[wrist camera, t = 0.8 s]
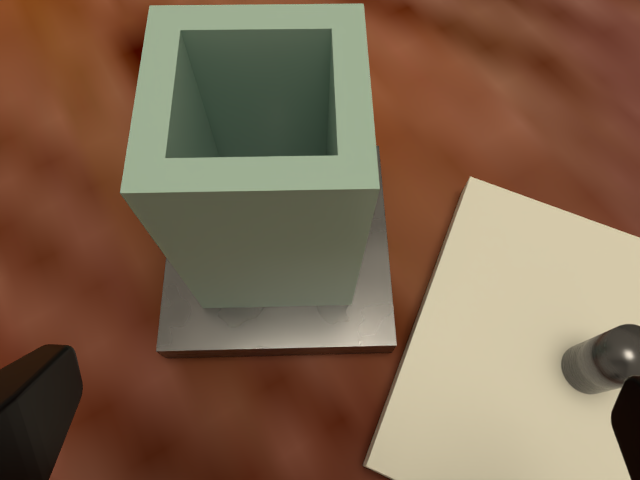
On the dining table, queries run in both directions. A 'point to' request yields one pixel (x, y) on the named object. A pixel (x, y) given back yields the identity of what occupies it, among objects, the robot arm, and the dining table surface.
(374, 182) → the sleeve
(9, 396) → the robot arm
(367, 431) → the dining table surface
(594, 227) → the board
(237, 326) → the stand
